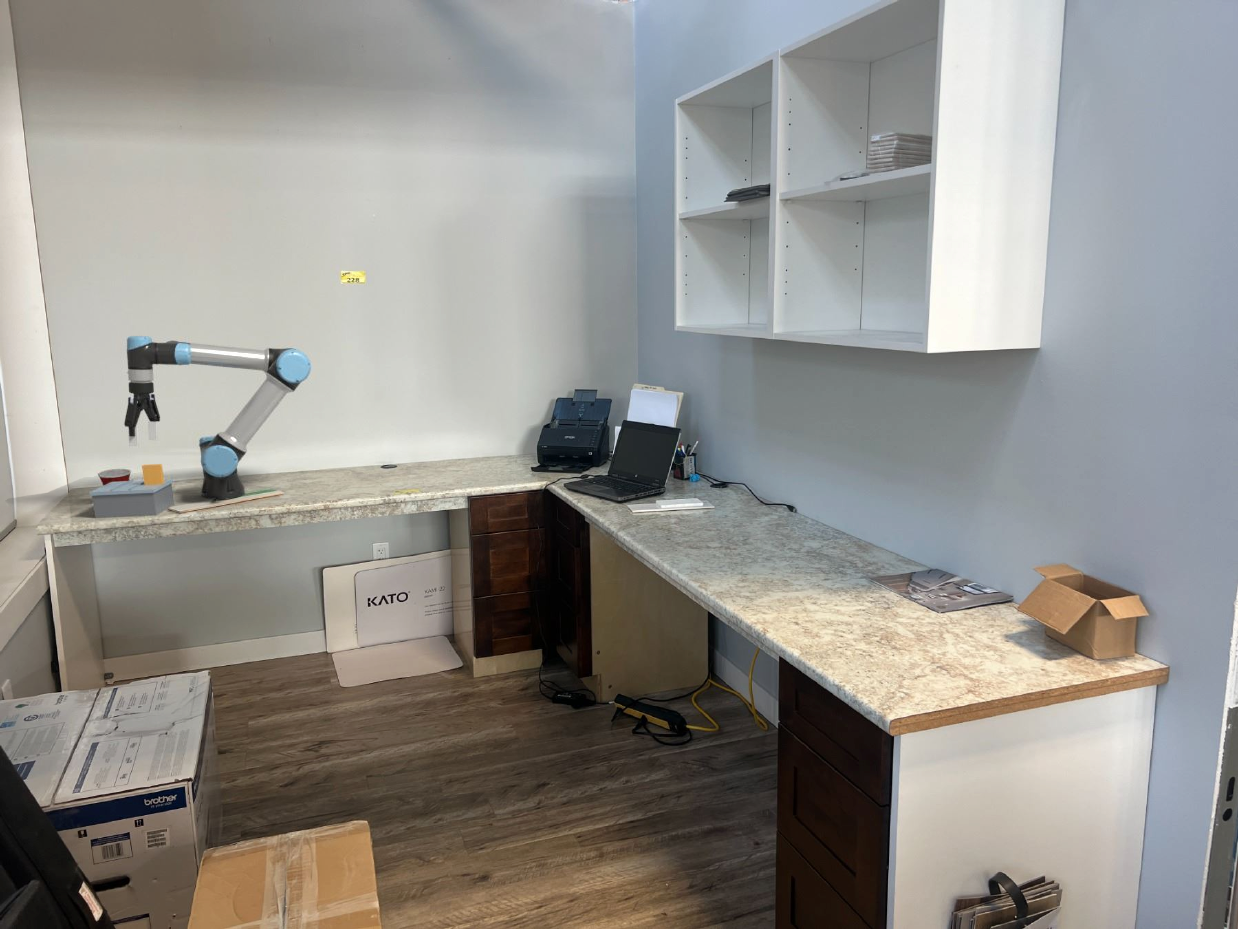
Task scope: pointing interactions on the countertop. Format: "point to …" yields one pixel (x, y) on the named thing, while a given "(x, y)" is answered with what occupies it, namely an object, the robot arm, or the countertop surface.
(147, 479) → the lid
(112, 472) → the plastic cup
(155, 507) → the tub
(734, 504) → the countertop surface
